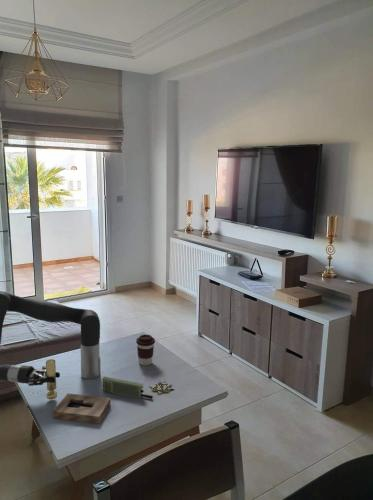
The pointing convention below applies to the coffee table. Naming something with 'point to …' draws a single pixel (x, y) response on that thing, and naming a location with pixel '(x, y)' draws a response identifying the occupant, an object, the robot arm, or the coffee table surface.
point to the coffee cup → (145, 349)
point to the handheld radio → (124, 387)
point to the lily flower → (161, 387)
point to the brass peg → (51, 373)
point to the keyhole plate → (82, 408)
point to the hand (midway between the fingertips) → (57, 377)
